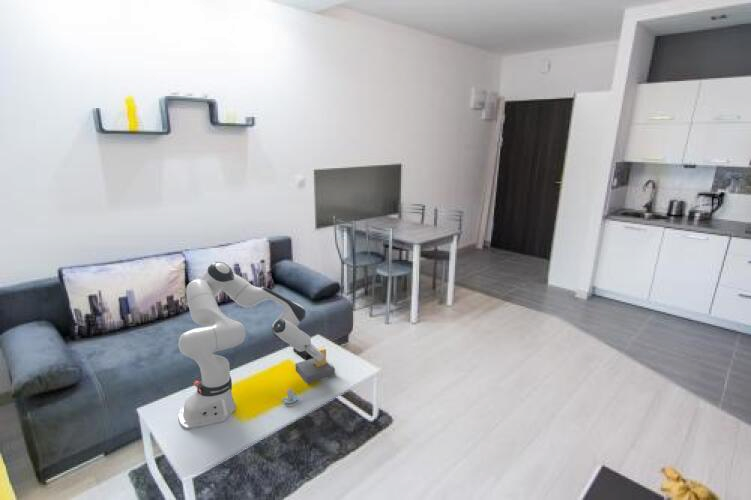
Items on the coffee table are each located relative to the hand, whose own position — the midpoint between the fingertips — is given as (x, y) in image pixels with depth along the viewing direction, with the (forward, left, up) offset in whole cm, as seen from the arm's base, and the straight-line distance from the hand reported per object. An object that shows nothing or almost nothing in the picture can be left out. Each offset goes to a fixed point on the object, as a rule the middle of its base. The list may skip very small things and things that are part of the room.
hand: (319, 354), depth 202 cm
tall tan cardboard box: (0, 0, -9) cm, 9 cm away
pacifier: (-22, -16, -10) cm, 29 cm away
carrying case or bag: (+3, +21, -10) cm, 23 cm away
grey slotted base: (-3, 0, -9) cm, 10 cm away
